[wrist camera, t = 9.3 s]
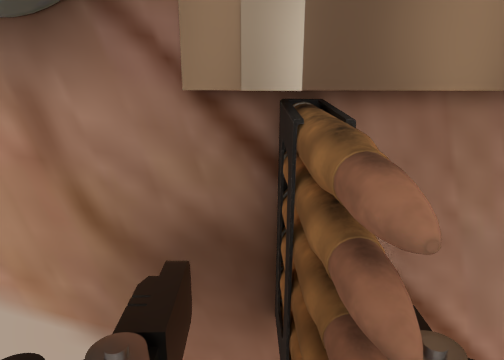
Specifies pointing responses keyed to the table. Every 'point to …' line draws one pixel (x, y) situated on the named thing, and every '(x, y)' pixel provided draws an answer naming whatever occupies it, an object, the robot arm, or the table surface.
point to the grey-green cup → (23, 7)
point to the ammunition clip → (344, 241)
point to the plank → (342, 45)
